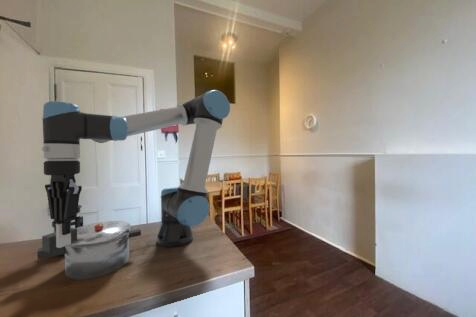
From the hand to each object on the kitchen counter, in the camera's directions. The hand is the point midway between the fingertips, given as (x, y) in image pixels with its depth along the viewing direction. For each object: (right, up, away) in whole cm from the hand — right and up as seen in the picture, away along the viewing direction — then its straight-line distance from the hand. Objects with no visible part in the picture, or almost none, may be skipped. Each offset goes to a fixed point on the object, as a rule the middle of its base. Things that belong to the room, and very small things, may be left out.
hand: (63, 245), depth 56 cm
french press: (-19, -12, +24) cm, 33 cm away
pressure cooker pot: (0, -12, +14) cm, 19 cm away
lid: (-1, -2, +11) cm, 11 cm away
